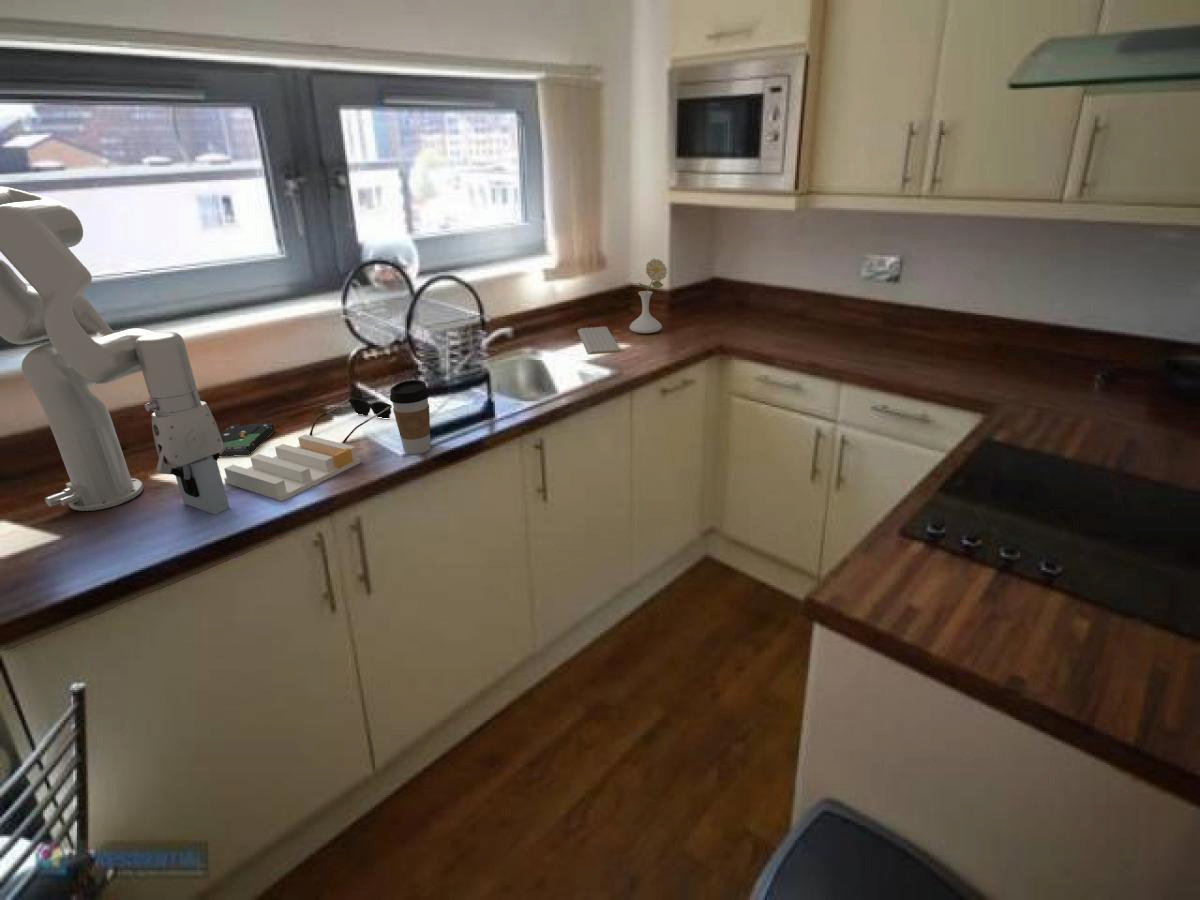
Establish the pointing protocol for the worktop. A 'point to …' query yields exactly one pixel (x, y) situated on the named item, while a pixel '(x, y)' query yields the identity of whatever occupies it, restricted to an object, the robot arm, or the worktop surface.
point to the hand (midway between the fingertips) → (202, 490)
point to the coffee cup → (412, 415)
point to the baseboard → (598, 340)
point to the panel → (206, 487)
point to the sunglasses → (363, 411)
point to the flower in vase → (645, 320)
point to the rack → (293, 467)
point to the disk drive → (244, 438)
